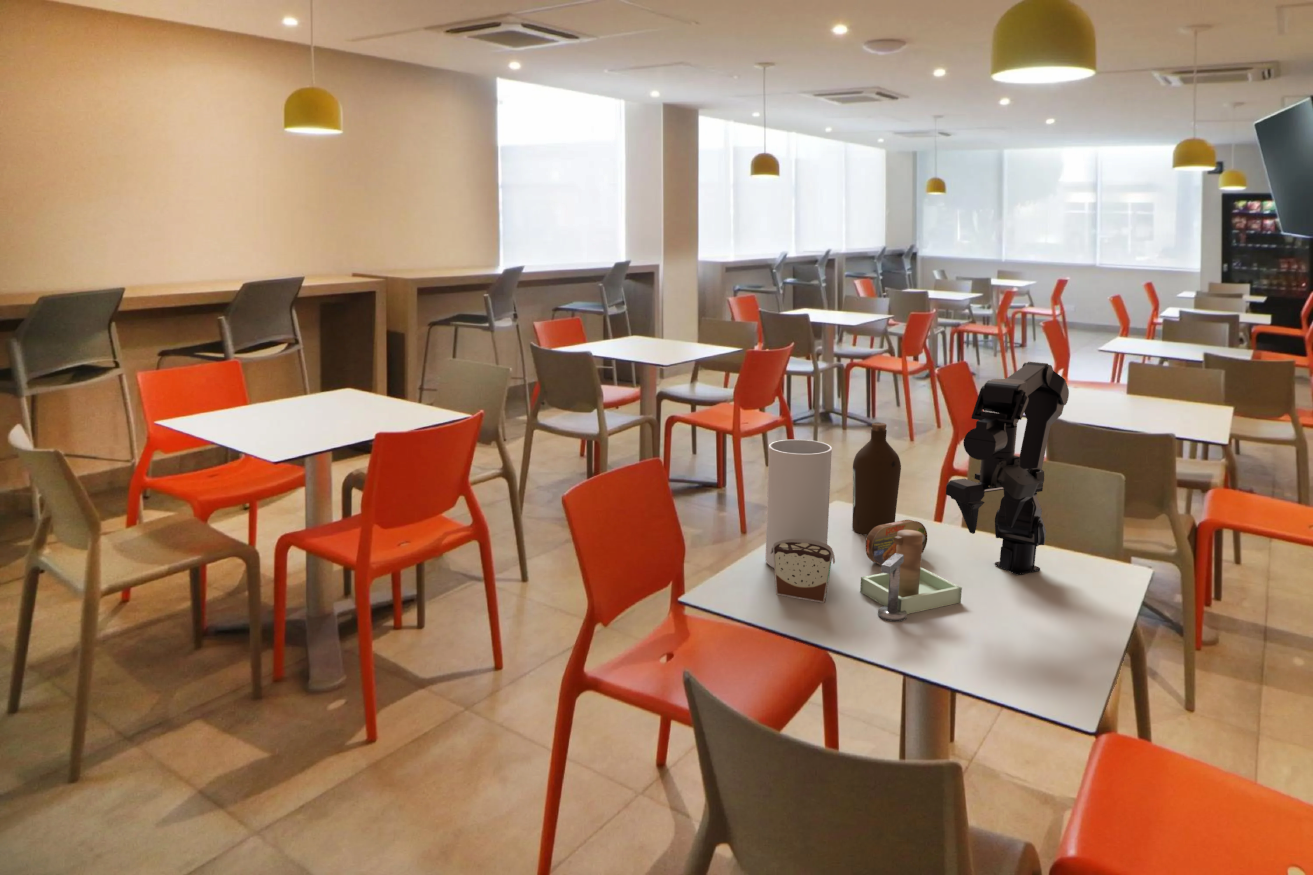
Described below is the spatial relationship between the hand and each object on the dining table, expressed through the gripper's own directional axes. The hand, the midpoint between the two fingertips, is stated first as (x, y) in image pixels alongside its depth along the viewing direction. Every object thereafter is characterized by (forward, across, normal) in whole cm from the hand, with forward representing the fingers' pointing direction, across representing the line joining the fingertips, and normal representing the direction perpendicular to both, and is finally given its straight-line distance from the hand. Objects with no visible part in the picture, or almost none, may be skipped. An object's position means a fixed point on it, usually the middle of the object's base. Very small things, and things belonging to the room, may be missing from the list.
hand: (991, 529), depth 178 cm
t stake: (+13, -23, -1) cm, 27 cm away
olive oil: (+13, +4, +40) cm, 42 cm away
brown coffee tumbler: (+12, -15, +5) cm, 20 cm away
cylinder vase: (+13, -24, +29) cm, 40 cm away
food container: (+13, -31, +15) cm, 37 cm away
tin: (+13, -4, +22) cm, 26 cm away
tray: (+13, -14, +5) cm, 20 cm away
